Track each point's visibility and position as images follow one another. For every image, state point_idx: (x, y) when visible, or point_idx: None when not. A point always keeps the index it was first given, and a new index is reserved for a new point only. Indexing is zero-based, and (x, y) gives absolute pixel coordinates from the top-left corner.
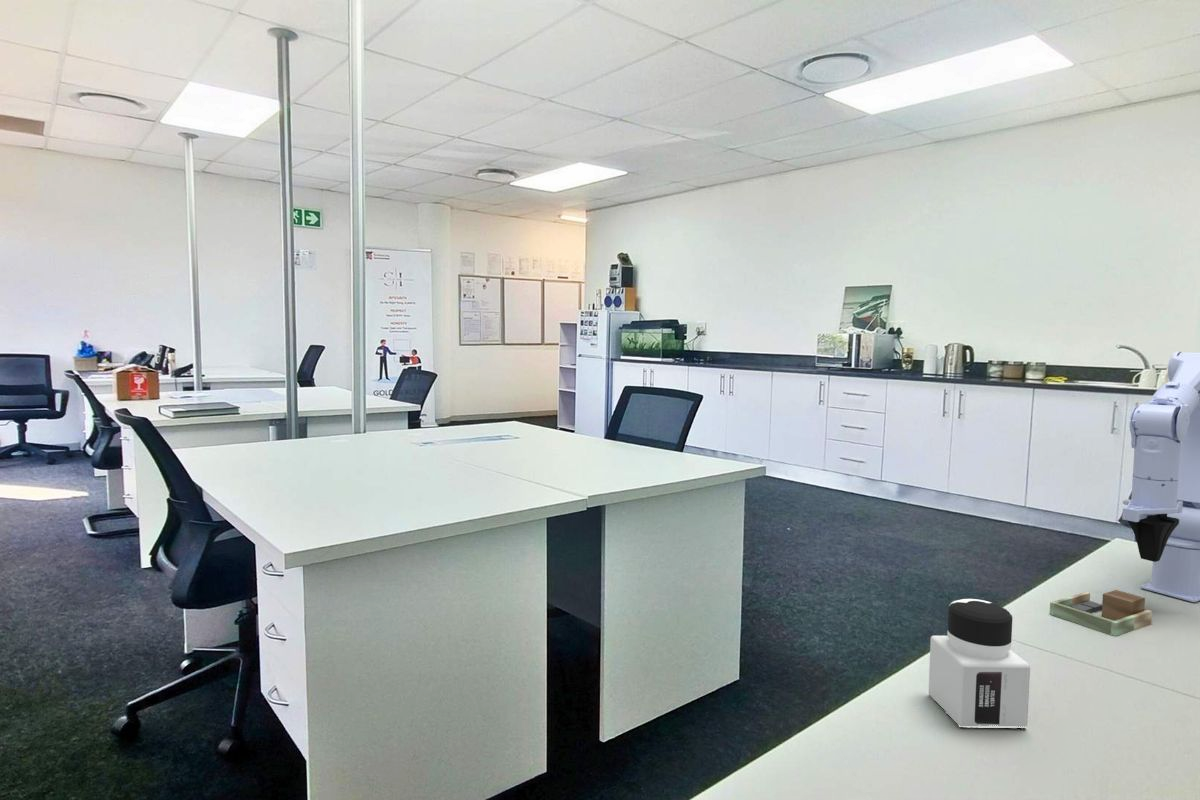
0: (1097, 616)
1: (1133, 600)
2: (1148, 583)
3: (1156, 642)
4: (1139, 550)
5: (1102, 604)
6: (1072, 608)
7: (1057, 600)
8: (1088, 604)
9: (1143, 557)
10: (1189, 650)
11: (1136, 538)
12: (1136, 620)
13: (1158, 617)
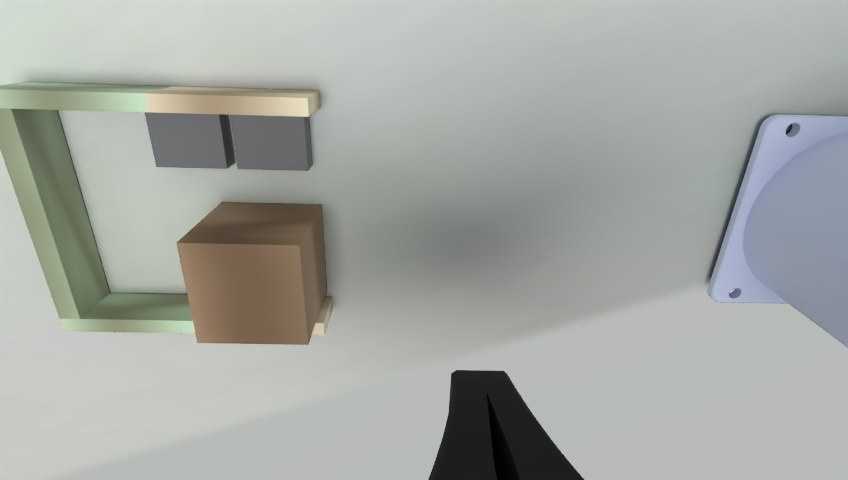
0: (55, 271)
1: (225, 337)
2: (844, 122)
3: (182, 373)
4: (451, 404)
5: (200, 222)
6: (22, 183)
7: (39, 93)
8: (250, 137)
9: (450, 391)
10: (216, 427)
11: (431, 473)
12: None
13: (423, 294)
